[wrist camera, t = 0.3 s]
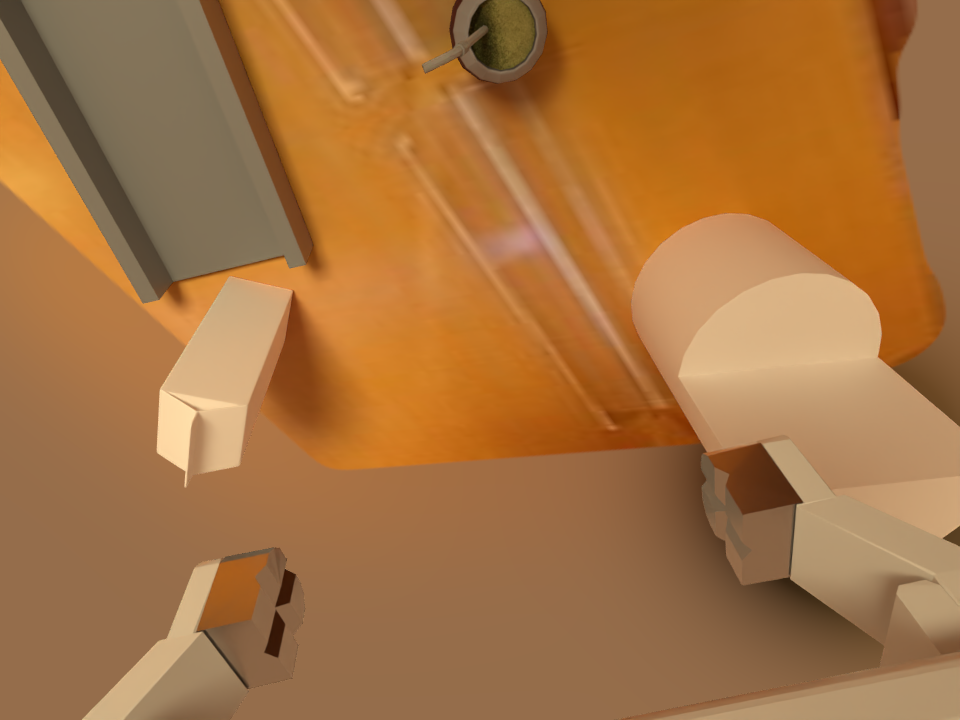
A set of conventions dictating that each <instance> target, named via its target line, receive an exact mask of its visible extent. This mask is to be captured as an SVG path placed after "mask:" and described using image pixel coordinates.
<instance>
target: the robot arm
mask: <svg viewBox="0 0 960 720" xmlns="http://www.w3.org/2000/svg"><path fill="white" fill-rule="evenodd" d="M701 470H702V471H703V474H704V475H705V477H706V479H707V480H706V482H705V483H704V484H703V486H702V497H703V502H704V507H705V511H706V515H707V517H708V520H709V522H710V525H711V527H712V529H713V531H714V533H715V535H716V536H717V537H719V538H720V539H722V540H724V541H726V556H727V558H728V560H729V562H730V564H731V566H732V567H733V569H734V571H735V573H736V575H737V577H738V579H739V580H740V582H741V584H742V585H747V584H753V583H758V582H764V581H770V580H775V579H781V578H787V577H791V580H792V581H794V582H795V583H797V584H798V585H799V586H801V587H802V588H804V589H805V590H807V591H808V592H809V593H811V594H812V595H814V596H815V597H816V598H818V599H819V600H821V601H822V602H823V603H825V604H826V605H828V606H829V607H830V608H832V609H833V610H835V611H836V612H837V613H839V614H840V615H842V616H843V617H844V618H846V619H847V620H849V621H850V622H852V623H853V624H854V625H856V626H857V627H859V628H860V629H861V630H863V631H864V632H866V633H867V634H869V635H870V636H871V637H873V638H874V639H876V640H877V641H878V642H880V643H881V644H883V645H884V650H883V654H882V658H881V663H880V667H878V668H873V669H868V670H863V671H858V672H853V673H848V674H843V675H838V676H833V677H828V678H823V679H818V680H813V681H807V682H802V683H798V684H792V685H787V686H782V687H777V688H772V689H767V690H762V691H757V692H752V693H747V694H742V695H737V696H732V697H727V698H722V699H717V700H712V701H707V702H702V703H697V704H692V705H687V706H682V707H676V708H672V709H667V710H661V711H656V712H652V713H647V714H642V715H636V716H632V717H627V718H621V719H616V720H960V547H959V546H957V545H955V544H953V543H950V542H948V541H946V540H944V539H941V538H939V537H937V536H935V535H933V534H930V533H928V532H926V531H924V530H922V529H919V528H917V527H915V526H913V525H911V524H908V523H906V522H904V521H902V520H900V519H897V518H895V517H893V516H891V515H889V514H886V513H884V512H882V511H880V510H878V509H875V508H873V507H871V506H869V505H867V504H864V503H862V502H860V501H858V500H856V499H853V498H851V497H849V496H847V495H841V496H836V495H835V494H834V493H833V491H832V490H831V489H830V488H829V486H828V485H827V484H826V483H825V481H824V480H823V479H822V478H821V476H820V475H819V474H818V473H817V471H816V470H815V469H814V468H813V466H812V465H811V464H810V463H809V461H808V460H807V459H806V458H805V456H804V455H803V454H802V453H801V451H800V450H799V449H798V448H797V446H796V445H795V444H794V443H793V441H792V440H791V439H790V438H789V437H787V436H785V435H780V436H776V437H772V438H767V439H763V440H759V441H756V442H750V443H746V444H741V445H737V446H733V447H728V448H724V449H720V450H715V451H711V452H706V453H703V454H702V457H701ZM286 561H287V558H286V557H285V556H284V554H283V552H282V551H281V549H280V548H269V549H264V550H258V551H253V552H249V553H243V554H238V555H232V556H228V557H225V558H220V559H215V560H209V561H204V562H200V563H199V564H198V565H197V566H196V567H195V568H194V570H193V573H192V575H191V578H190V581H189V583H188V586H187V588H186V591H185V593H184V596H183V598H182V601H181V604H180V606H179V609H178V612H177V614H176V616H175V619H174V622H173V624H172V627H171V629H170V632H169V635H168V637H167V639H164V640H160V641H158V642H157V643H156V644H155V645H154V647H153V648H151V649H150V651H149V652H148V653H147V654H146V655H145V656H144V657H143V658H142V659H141V660H140V661H139V662H138V663H137V664H136V665H135V666H134V667H133V668H132V669H131V670H130V671H129V672H128V673H127V674H126V675H125V676H124V677H123V678H122V679H121V680H120V681H119V682H118V683H117V684H116V686H115V687H114V688H113V689H112V690H110V692H109V693H108V694H107V695H106V696H105V697H104V698H103V699H102V700H101V701H100V702H99V703H98V704H97V705H96V706H95V707H94V708H93V709H92V710H91V711H90V712H89V713H88V714H87V715H86V716H85V717H84V718H83V719H82V720H230V719H231V718H232V716H233V715H234V713H235V712H236V710H237V709H238V707H239V706H240V704H241V703H242V701H243V700H244V698H245V697H246V695H247V694H248V692H249V691H248V689H251V688H255V687H259V686H263V685H268V684H271V683H276V682H280V681H284V680H288V679H292V677H293V672H294V667H295V661H296V656H297V651H298V643H297V642H296V640H295V639H294V637H293V635H294V634H295V632H296V631H297V630H298V629H299V627H300V626H301V625H302V624H303V618H304V612H305V604H304V592H303V589H302V586H301V583H300V581H299V579H298V577H297V576H296V574H294V573H292V572H290V571H288V570H286V569H285V566H286Z"/></svg>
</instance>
